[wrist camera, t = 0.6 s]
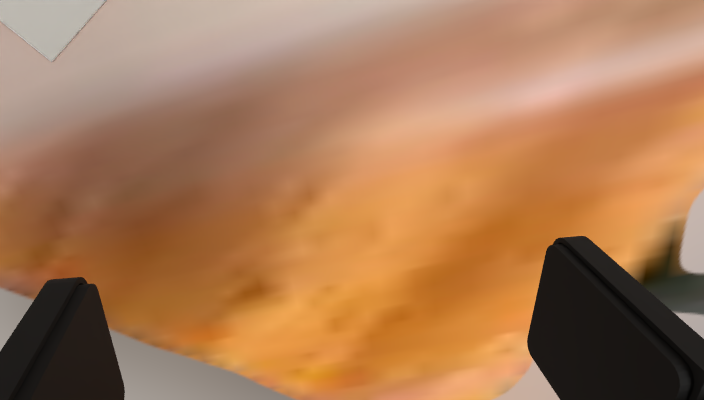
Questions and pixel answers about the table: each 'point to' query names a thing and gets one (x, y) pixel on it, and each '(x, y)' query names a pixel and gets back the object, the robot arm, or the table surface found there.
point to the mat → (48, 21)
